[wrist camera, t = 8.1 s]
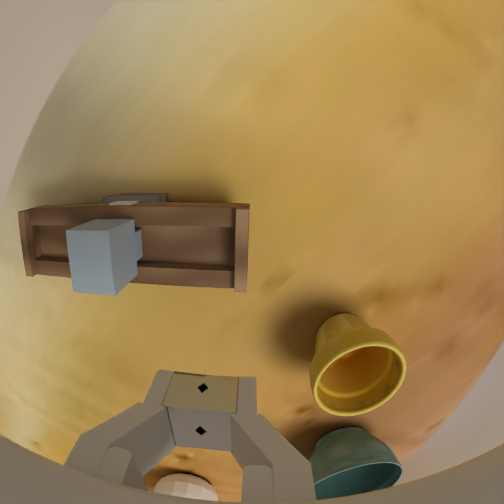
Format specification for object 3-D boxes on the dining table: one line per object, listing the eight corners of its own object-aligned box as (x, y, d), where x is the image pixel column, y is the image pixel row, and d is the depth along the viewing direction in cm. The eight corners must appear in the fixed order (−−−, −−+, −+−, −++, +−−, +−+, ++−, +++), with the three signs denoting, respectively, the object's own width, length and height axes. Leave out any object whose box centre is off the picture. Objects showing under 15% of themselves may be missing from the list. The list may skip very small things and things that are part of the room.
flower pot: (357, 466, 45) (368, 507, 34) (281, 463, 44) (285, 510, 33) (400, 414, 41) (422, 458, 30) (318, 408, 39) (330, 463, 29)
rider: (103, 216, 26) (65, 230, 19) (140, 216, 26) (108, 230, 19) (107, 266, 27) (73, 291, 21) (143, 268, 27) (115, 296, 21)
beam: (60, 197, 31) (17, 207, 23) (250, 194, 31) (249, 203, 23) (65, 258, 33) (27, 280, 25) (247, 266, 34) (246, 297, 25)
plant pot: (308, 376, 38) (320, 427, 28) (292, 313, 35) (304, 360, 26) (379, 354, 37) (405, 399, 27) (373, 289, 34) (407, 328, 25)
